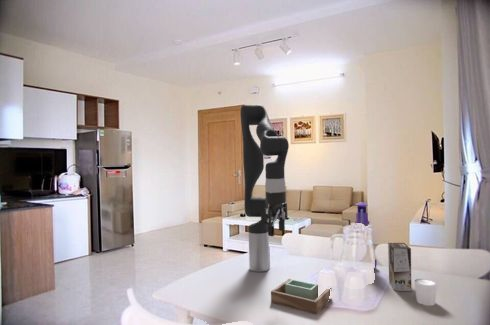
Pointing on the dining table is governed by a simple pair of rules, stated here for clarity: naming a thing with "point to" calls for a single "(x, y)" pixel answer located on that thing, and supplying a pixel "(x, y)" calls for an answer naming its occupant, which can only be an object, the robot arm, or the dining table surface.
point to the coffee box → (399, 266)
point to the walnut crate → (299, 300)
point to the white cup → (426, 291)
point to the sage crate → (302, 289)
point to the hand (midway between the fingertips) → (276, 233)
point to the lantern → (362, 216)
